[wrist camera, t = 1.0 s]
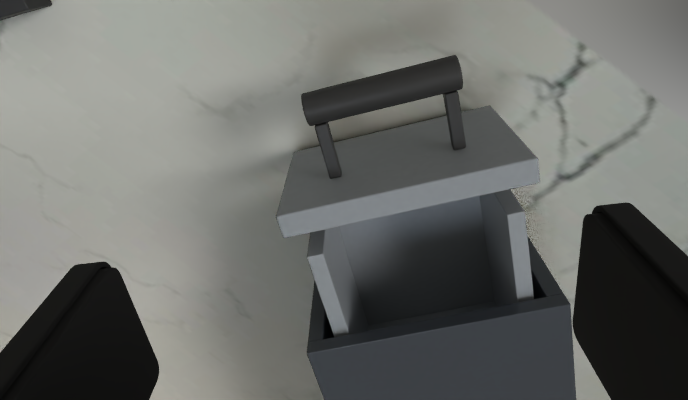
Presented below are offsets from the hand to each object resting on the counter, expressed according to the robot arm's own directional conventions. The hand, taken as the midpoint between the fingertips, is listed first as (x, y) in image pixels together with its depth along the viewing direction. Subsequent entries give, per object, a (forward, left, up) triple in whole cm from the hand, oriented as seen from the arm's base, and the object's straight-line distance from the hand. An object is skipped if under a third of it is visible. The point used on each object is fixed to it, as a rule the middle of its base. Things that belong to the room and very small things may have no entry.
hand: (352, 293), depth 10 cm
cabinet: (+8, +16, -20) cm, 26 cm away
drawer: (+3, +8, -19) cm, 20 cm away
